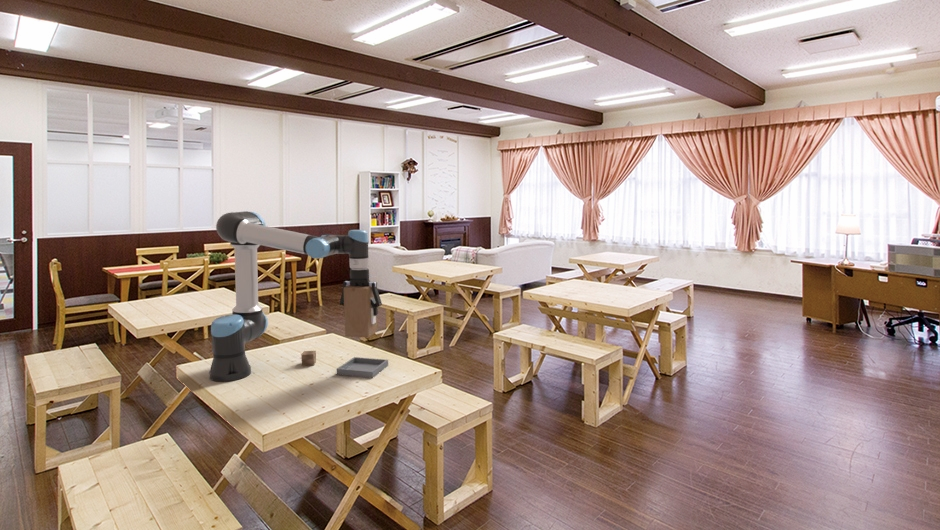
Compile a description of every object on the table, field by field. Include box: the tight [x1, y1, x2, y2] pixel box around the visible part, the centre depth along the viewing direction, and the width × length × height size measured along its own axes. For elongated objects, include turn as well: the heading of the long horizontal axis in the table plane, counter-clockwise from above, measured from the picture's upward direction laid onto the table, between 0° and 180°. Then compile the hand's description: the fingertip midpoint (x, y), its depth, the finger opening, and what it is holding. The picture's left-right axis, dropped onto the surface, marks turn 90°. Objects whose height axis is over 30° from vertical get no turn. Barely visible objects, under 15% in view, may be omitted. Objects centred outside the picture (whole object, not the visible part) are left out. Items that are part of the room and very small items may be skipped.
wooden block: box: [343, 285, 378, 339], centre depth 209 cm, size 10×10×20 cm
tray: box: [336, 356, 389, 379], centre depth 212 cm, size 16×16×2 cm
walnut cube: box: [300, 350, 317, 367], centre depth 220 cm, size 5×5×5 cm
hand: (361, 322), depth 210 cm, fingers closed on wooden block, 10 cm apart
